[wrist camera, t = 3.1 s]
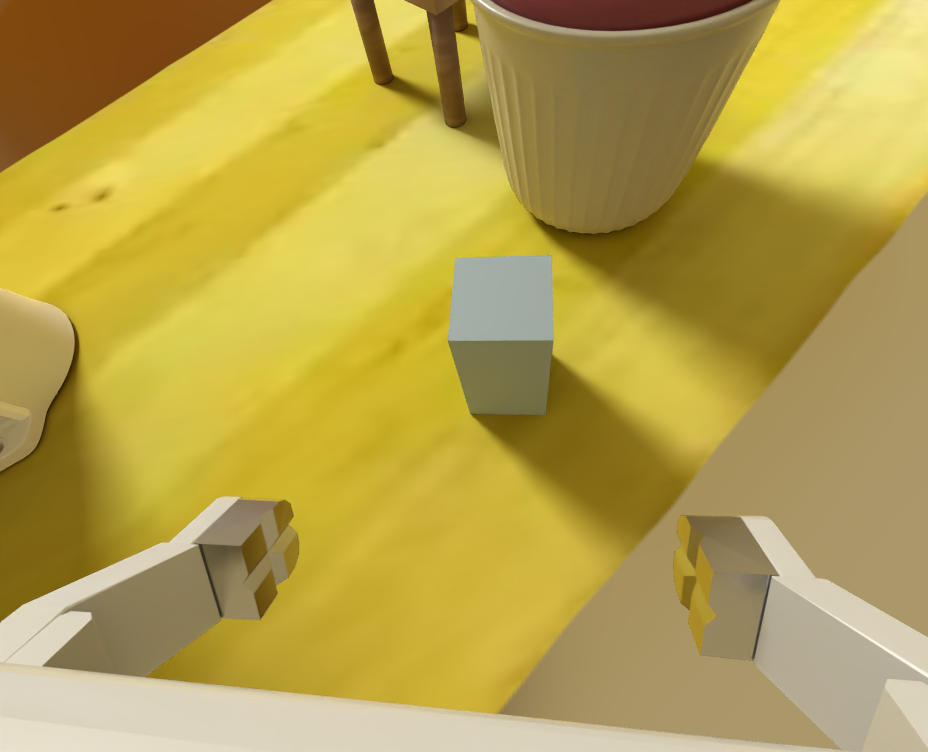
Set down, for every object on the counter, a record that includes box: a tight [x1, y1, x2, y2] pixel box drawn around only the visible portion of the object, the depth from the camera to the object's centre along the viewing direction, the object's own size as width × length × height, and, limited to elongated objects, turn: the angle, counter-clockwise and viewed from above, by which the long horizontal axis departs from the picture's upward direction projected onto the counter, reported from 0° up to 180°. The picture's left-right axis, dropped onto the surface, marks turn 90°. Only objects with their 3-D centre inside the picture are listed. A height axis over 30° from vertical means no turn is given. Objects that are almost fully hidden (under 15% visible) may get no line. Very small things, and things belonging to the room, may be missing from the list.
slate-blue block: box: [448, 255, 553, 415], centre depth 28 cm, size 5×5×10 cm
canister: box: [471, 0, 780, 234], centre depth 29 cm, size 18×18×21 cm
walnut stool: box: [351, 0, 468, 127], centre depth 42 cm, size 14×14×12 cm
